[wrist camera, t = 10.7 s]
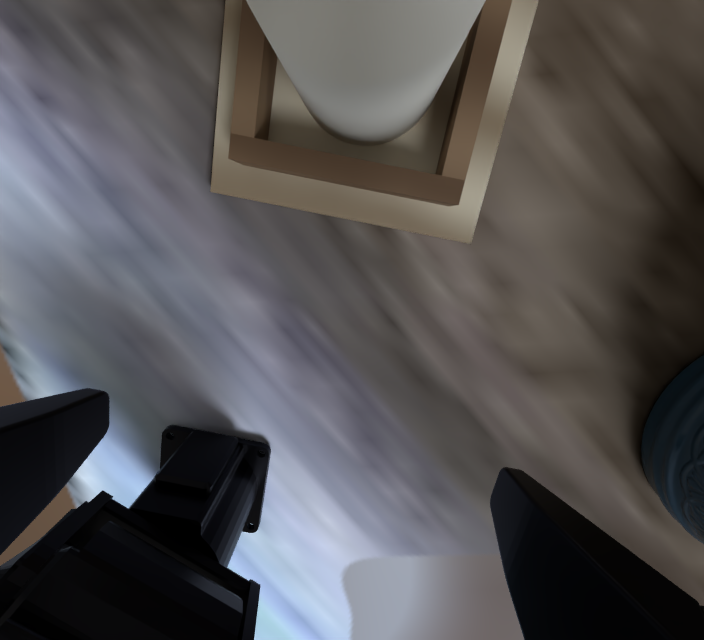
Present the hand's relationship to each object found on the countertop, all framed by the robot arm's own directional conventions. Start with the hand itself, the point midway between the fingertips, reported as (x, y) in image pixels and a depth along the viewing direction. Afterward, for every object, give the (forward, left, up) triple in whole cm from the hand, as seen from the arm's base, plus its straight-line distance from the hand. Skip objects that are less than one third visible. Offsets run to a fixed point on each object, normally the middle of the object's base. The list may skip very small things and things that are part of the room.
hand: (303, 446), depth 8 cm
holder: (+11, +1, -12) cm, 17 cm away
